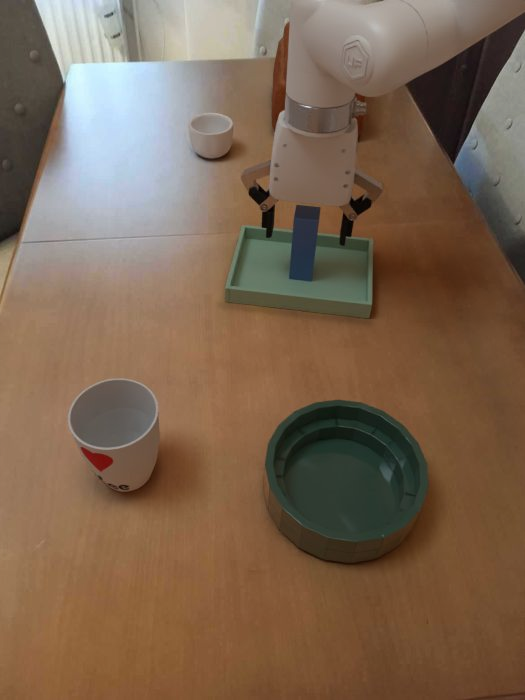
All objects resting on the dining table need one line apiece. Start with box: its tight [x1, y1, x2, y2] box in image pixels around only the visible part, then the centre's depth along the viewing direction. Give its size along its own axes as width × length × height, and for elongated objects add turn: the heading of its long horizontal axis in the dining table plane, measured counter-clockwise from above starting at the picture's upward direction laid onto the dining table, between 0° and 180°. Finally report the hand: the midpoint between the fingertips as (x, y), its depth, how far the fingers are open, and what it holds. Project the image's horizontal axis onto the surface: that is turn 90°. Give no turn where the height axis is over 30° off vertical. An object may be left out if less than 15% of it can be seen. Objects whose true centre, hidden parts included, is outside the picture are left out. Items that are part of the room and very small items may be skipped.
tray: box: [224, 224, 374, 319], centre depth 83 cm, size 19×14×2 cm
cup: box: [67, 377, 161, 493], centre depth 58 cm, size 8×8×10 cm
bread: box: [271, 21, 366, 137], centre depth 112 cm, size 17×24×15 cm
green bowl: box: [262, 399, 430, 564], centre depth 59 cm, size 16×16×5 cm
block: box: [289, 204, 321, 281], centre depth 80 cm, size 3×3×10 cm
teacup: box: [187, 112, 234, 159], centre depth 105 cm, size 10×8×5 cm
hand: (305, 235), depth 79 cm, fingers open, 9 cm apart
